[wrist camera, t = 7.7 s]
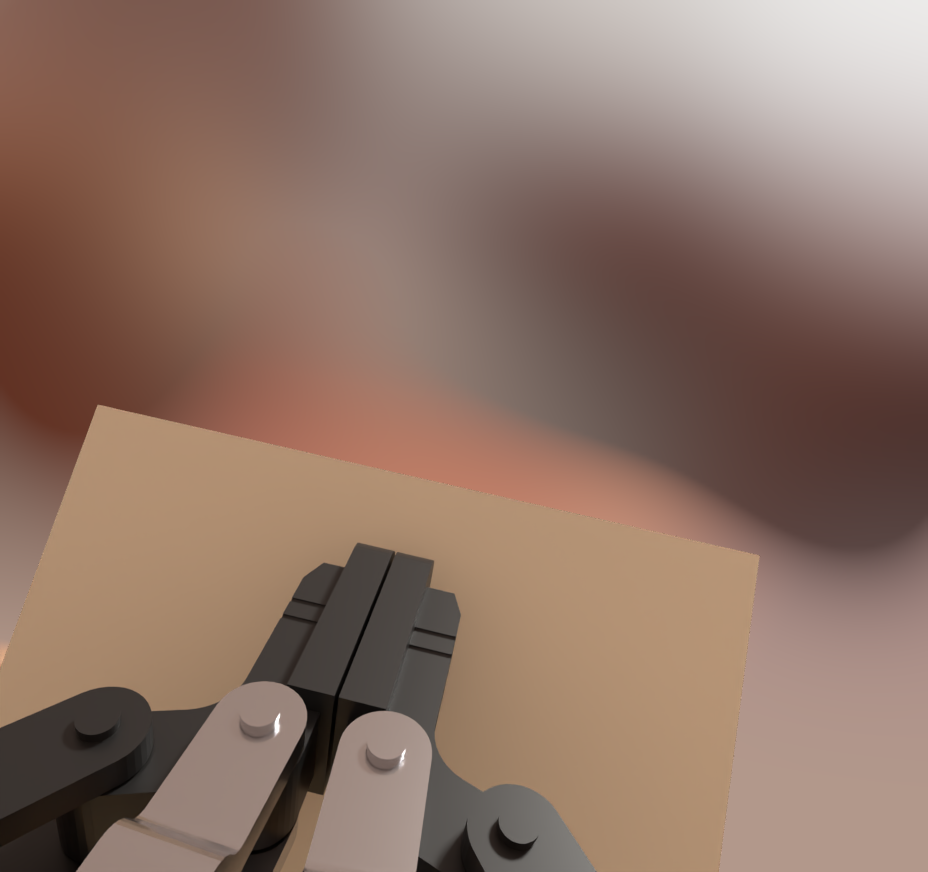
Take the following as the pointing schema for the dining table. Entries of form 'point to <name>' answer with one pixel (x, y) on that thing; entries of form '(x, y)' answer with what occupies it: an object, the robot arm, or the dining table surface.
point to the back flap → (455, 570)
